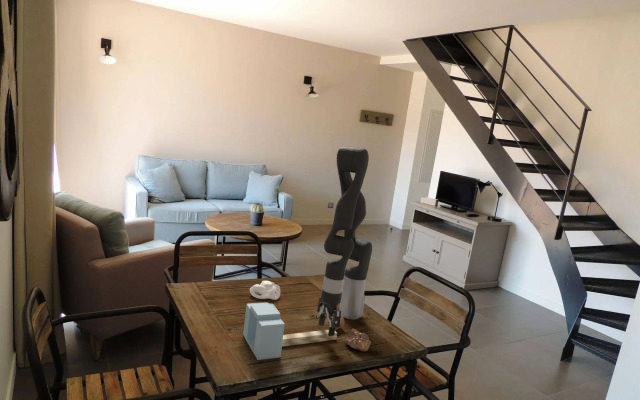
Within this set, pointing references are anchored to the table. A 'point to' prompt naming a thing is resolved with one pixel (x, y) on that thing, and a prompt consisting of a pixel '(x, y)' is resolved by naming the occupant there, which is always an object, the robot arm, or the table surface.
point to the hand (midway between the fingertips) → (325, 330)
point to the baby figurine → (265, 290)
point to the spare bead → (340, 323)
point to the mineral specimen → (358, 340)
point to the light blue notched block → (263, 330)
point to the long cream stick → (307, 337)
